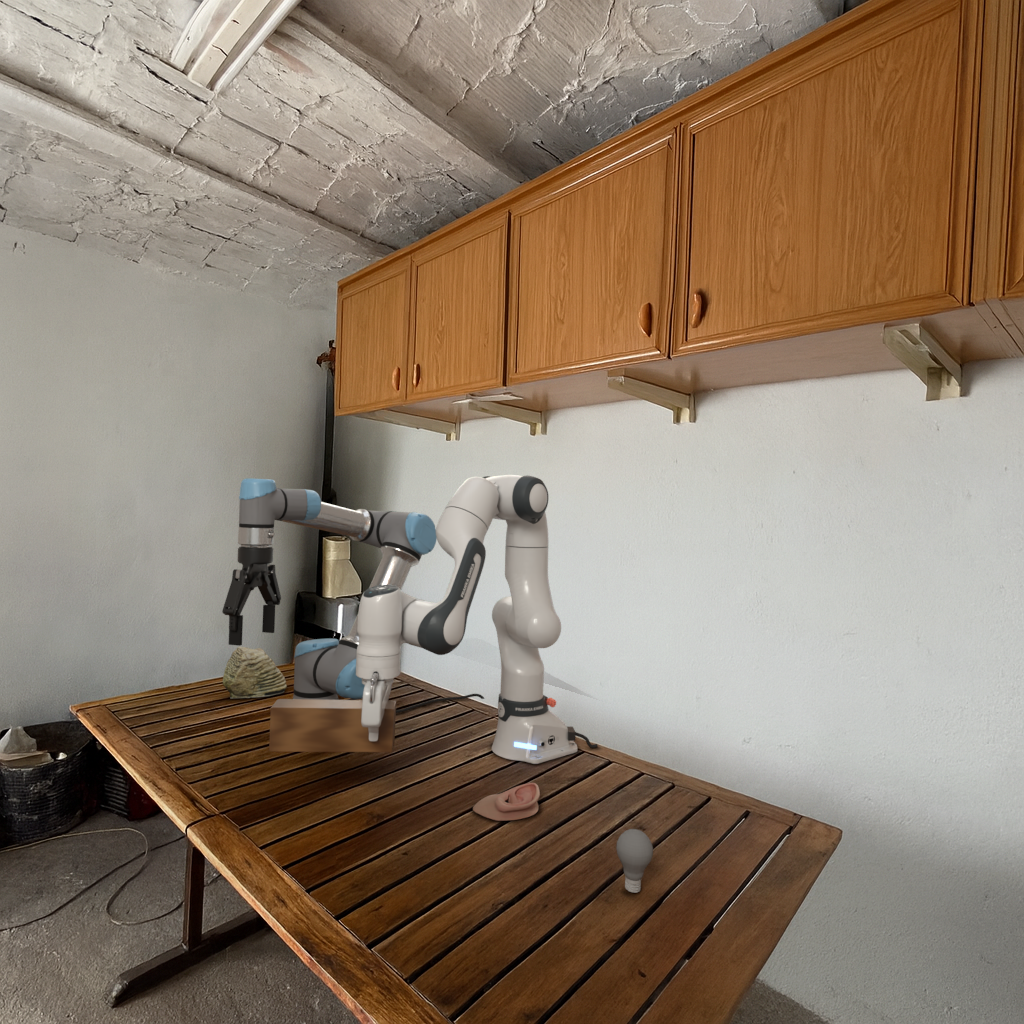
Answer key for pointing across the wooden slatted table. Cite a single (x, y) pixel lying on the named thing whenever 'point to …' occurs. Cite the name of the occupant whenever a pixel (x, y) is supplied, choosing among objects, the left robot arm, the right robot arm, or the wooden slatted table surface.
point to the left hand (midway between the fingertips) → (252, 638)
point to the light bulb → (634, 857)
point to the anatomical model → (510, 803)
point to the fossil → (252, 674)
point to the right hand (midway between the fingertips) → (375, 733)
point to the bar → (327, 727)
